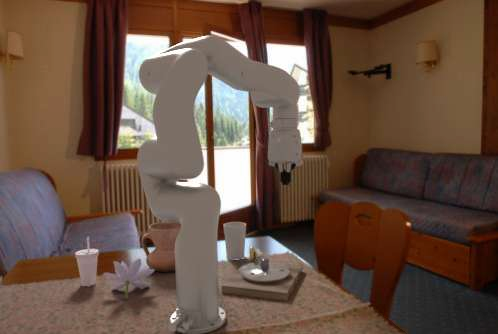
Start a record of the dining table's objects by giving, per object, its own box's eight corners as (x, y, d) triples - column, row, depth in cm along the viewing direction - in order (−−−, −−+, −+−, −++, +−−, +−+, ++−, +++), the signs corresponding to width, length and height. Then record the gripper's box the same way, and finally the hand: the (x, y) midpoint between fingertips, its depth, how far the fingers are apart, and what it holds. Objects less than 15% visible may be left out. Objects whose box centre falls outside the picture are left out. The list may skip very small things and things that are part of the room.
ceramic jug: (202, 262, 125) (200, 221, 124) (183, 277, 111) (182, 231, 110) (154, 259, 130) (153, 219, 129) (131, 273, 116) (129, 228, 115)
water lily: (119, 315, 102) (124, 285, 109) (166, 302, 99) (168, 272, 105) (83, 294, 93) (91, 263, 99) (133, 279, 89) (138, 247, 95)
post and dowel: (270, 275, 106) (270, 256, 106) (263, 276, 105) (262, 257, 105) (253, 263, 117) (253, 246, 116) (246, 264, 116) (246, 247, 115)
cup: (246, 261, 125) (245, 226, 124) (223, 261, 125) (222, 227, 124) (247, 254, 133) (246, 221, 132) (225, 254, 133) (224, 222, 132)
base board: (287, 300, 94) (286, 293, 93) (221, 292, 99) (221, 285, 99) (302, 271, 114) (302, 265, 114) (247, 266, 120) (247, 260, 120)
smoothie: (91, 289, 104) (89, 240, 103) (71, 287, 105) (69, 239, 104) (104, 280, 110) (102, 234, 109) (85, 279, 111) (83, 233, 110)
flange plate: (296, 280, 101) (295, 264, 101) (246, 285, 98) (246, 269, 98) (276, 260, 119) (276, 246, 119) (234, 264, 116) (234, 250, 116)
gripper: (258, 125, 112) (259, 185, 113) (307, 124, 107) (307, 186, 108) (265, 126, 119) (266, 183, 120) (311, 124, 114) (311, 183, 115)
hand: (285, 184), depth 114 cm, fingers closed
